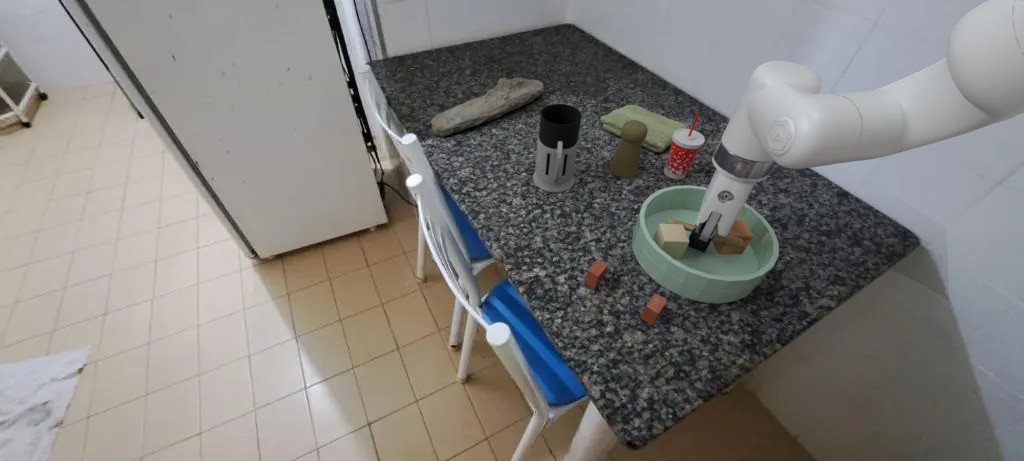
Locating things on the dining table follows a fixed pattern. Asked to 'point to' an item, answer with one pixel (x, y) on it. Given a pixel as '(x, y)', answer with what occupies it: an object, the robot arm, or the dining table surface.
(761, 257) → the bowl
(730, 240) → the tan wooden rod
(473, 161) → the dining table surface
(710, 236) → the robot arm
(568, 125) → the glass holder
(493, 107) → the elongated grey stone
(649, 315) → the red blocks
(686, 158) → the beverage cup
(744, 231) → the amber block
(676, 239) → the cream block
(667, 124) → the washcloth
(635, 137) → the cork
